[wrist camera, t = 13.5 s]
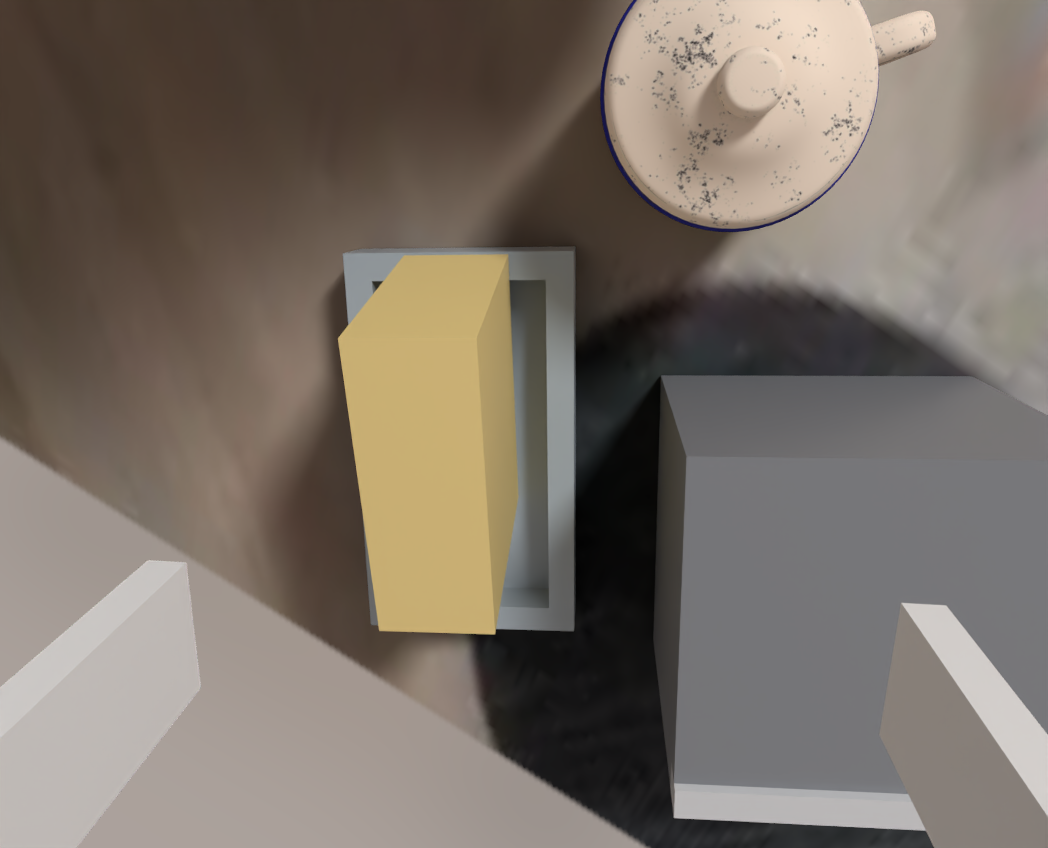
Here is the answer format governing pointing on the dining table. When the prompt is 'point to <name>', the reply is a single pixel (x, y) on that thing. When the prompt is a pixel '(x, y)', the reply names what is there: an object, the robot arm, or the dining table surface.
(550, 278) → the tray
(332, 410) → the dining table surface
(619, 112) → the teacup with lid
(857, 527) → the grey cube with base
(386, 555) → the yellow cuboid
